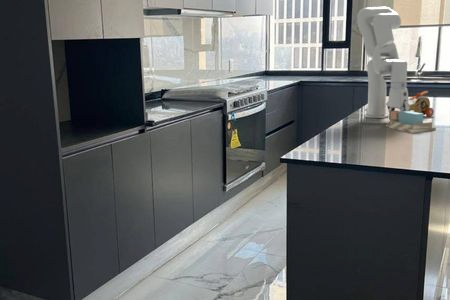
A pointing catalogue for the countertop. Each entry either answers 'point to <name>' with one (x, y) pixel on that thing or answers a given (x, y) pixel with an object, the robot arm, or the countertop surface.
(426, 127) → the jig
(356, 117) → the countertop surface
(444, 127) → the countertop surface
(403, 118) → the light blue block
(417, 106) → the toy helicopter
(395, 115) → the peach brick
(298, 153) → the countertop surface
